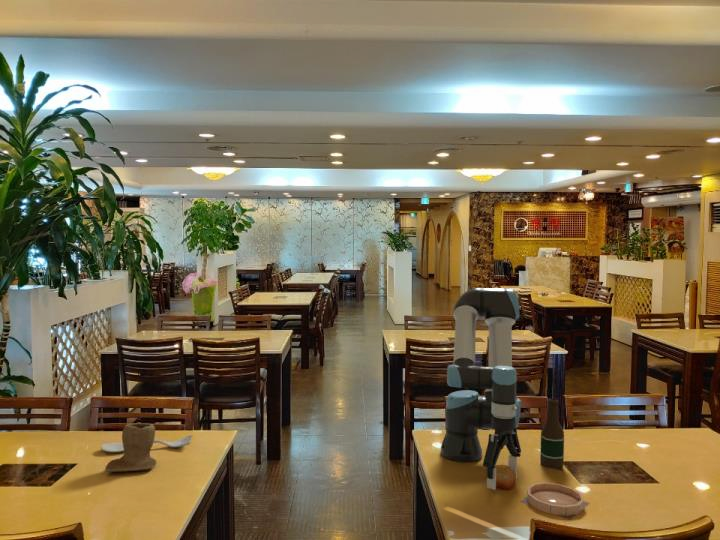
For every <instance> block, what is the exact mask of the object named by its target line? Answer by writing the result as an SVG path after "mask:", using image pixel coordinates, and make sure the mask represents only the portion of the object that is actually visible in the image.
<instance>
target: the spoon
mask: <svg viewBox="0 0 720 540" xmlns="http://www.w3.org/2000/svg"><path fill="white" fill-rule="evenodd" d="M192 438H193V435H192V434H190V435H186V436H185V437H183V438H180V439H175V440H174V441H171V442H169V441H164V440H161V439H154V442H153V444H155V443H156V444H157V443H158V444H163V445H164V446H166V447H169V448H181V447H185V446H189V445H191V440H192ZM100 449H101V450H102V451H104V452H108V453H123V452H124V448H123V442H108V443H103V444H101V446H100Z"/></svg>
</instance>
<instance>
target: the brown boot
mask: <svg viewBox="0 0 720 540" xmlns="http://www.w3.org/2000/svg"><path fill="white" fill-rule="evenodd" d="M155 435H156V427H155V426H154V424H153V423H147V422H145V423H144V422H142V423H140V422H139V423H137V422H136V423H128V424H125V425H124V427H123V430H122V434H121V441H122V442H121V443H123V448H124V451H123V455H122V456H121V457H120V458H115V459H112V460H110V461H109V462H108V463H107V464H106V466H105V470H104V472H106V473H113V472H115V473H117V472H118V473H119V472H120V473H121V472H135V471H144V470H151V469H153V468H154V467H156V465H157V460H156V458H153V457H151V450H152V448H153V445H154V443H153V442H154V440H155Z"/></svg>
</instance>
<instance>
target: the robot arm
mask: <svg viewBox="0 0 720 540" xmlns="http://www.w3.org/2000/svg"><path fill="white" fill-rule="evenodd" d="M519 304H520V303H519V298H518V294H517V292H516V291H515V289H513V288H505V287H503V288H493V287H492V288H491V287H490V288H489V287H488V288H487V287H486V288H485V287H474V288H471V289H468V290H466V291H464V293H463V294H461V295H460V297H459V298H458V299H457V300H456V303H455V304H454V306H453V313H452V315H453V319H454V320H455V328H454V346H453V347H454V349H453V363H452V364H448V365H447V371H446V376H447V377H446V383H447V386H449V387H451V388H452V387H453V388H459V389H461V388H464V389H465V390H457V391H454V392H451V393H449V394H448V395H447V397H446V405H445V409H446V412H445V414H446V415H445V433H444V437H443V440H442V443H441V446H440V454H441V456H443V457H444V458H446V459H448V460H451V461H455V462H460V463H461V462H464V463H470V462H476V461H478V460H481V459H482V457H483V448H482V447H481V442H480V439H479V433H478V429H482V430H494V434H492V433H489V434H488V442H487V446H486V449H485V454H484V458H483V463H482V467H485V468H486V488H487V489H491V490H494V491H495V490H496V489H497V488H496V468H495V466H497V463H498V459H499V456H500V454H501V451H502V450H503V449H504V447H506V449H507V451H508V453H509V455H508V462H507V463H508V464H507V466H508V467H510V468H511V469H512V470H513V471H514V474H515V479H516V478H518V458H520V457H521V456H522V454H521V453H522V448H521V445H520V440H519V436H518V429H517V428H518V426H519V421H520V415H521V406H522V405H521V403H522V400H521V398H519V397H517V381H518V378H517V369H516V368H515V367H513V360H512V359H513V355H512V352H513V350H512V346H513V345H512V340H513V337H512V334H513V333H512V331H513V330H512V327H513V325H515V324H516V320H517V319H520V305H519ZM479 318H484V323H485V324H486V325H487V326H488V366H482V365H481V366H480V365H476V326H477V325H476V322H477V320H478V319H479ZM466 389H468V390H466ZM470 389H471V390H470ZM472 389H478V390H479V389H481V390H484V392H483V395H481V396H480V394H479V392H477V391H476V390H472Z"/></svg>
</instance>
